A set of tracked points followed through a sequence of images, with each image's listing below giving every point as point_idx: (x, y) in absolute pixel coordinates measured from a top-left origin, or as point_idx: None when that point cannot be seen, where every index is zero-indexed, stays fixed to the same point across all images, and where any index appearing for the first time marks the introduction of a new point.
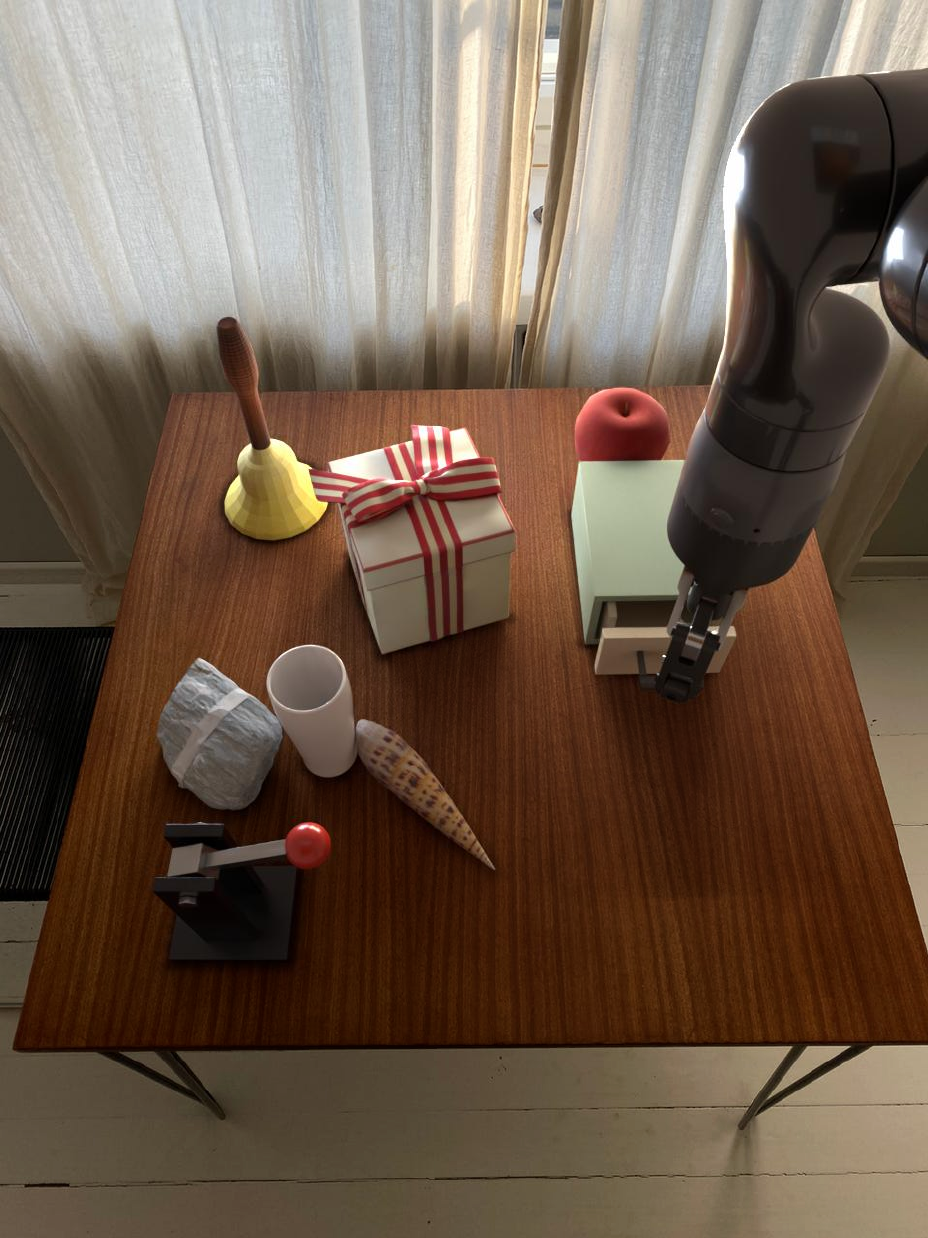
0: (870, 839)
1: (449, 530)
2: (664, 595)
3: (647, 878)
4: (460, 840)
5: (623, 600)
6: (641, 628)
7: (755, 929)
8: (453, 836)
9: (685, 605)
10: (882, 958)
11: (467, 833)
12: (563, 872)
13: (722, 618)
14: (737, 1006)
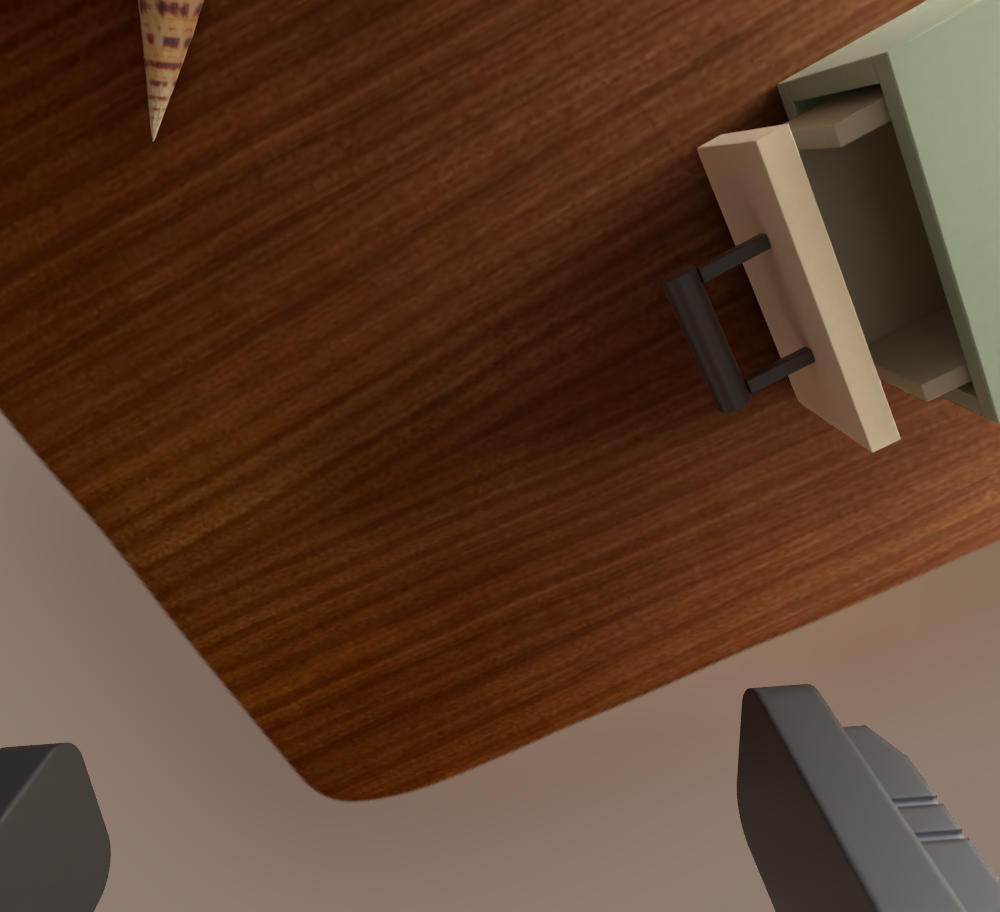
0: (572, 703)
1: None
2: (945, 251)
3: (321, 421)
4: (143, 29)
5: (899, 143)
6: (822, 227)
7: (339, 600)
8: (139, 7)
9: None
10: (398, 754)
11: (163, 38)
12: (241, 275)
13: None
14: (211, 611)
